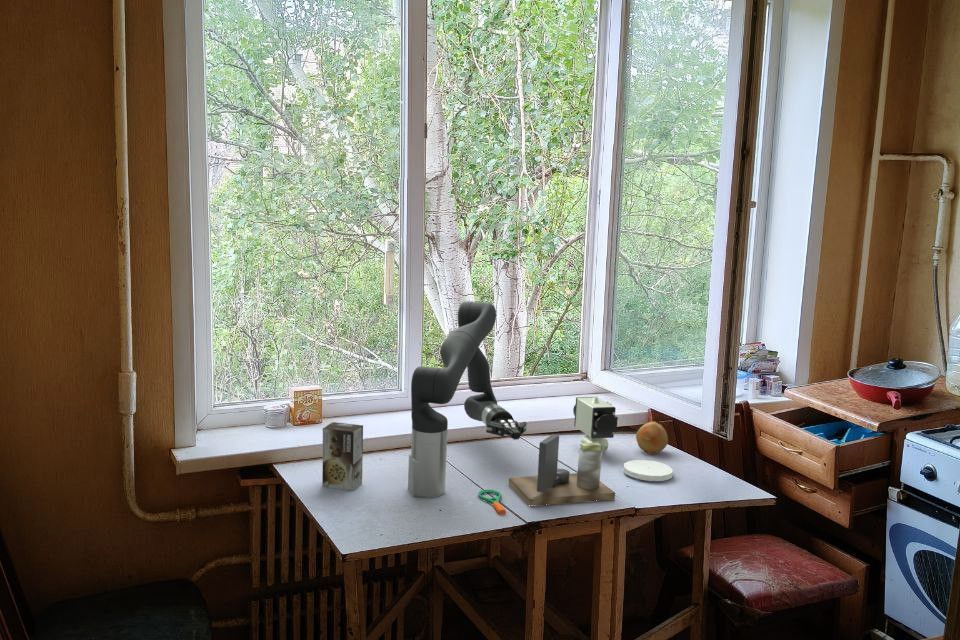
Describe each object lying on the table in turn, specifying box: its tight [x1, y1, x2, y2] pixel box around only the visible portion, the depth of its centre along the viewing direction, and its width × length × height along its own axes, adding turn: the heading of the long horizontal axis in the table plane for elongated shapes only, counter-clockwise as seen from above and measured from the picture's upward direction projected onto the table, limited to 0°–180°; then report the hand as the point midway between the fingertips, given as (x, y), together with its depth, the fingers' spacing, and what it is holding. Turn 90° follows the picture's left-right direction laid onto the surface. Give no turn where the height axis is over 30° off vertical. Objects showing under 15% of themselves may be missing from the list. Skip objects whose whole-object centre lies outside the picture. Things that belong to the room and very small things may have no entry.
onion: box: [635, 421, 669, 455], centre depth 247 cm, size 10×10×10 cm
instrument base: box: [507, 442, 616, 506], centre depth 208 cm, size 24×16×14 cm, turn 108°
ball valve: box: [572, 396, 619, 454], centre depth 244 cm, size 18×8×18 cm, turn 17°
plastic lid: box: [623, 459, 674, 482], centre depth 226 cm, size 14×14×2 cm
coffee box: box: [321, 421, 364, 491], centre depth 205 cm, size 9×6×16 cm
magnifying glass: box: [477, 489, 507, 515], centre depth 199 cm, size 15×6×2 cm, turn 14°
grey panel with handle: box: [537, 433, 571, 493], centre depth 205 cm, size 16×5×14 cm, turn 153°
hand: (516, 436), depth 219 cm, fingers closed
